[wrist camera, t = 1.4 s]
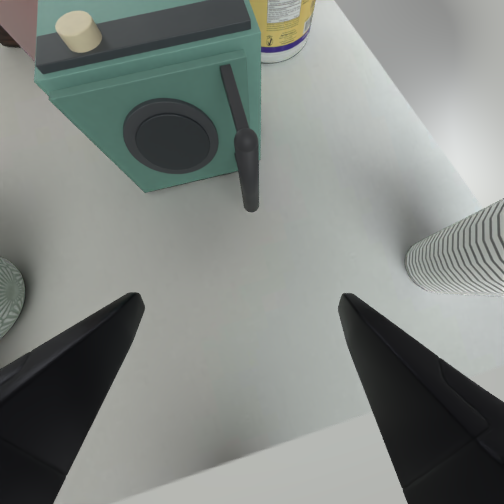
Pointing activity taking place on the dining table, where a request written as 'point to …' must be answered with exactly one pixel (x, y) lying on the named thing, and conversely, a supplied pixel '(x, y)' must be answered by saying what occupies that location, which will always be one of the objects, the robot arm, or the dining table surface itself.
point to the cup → (462, 256)
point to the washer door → (172, 123)
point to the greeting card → (21, 22)
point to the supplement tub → (282, 27)
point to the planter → (10, 295)
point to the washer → (142, 40)
